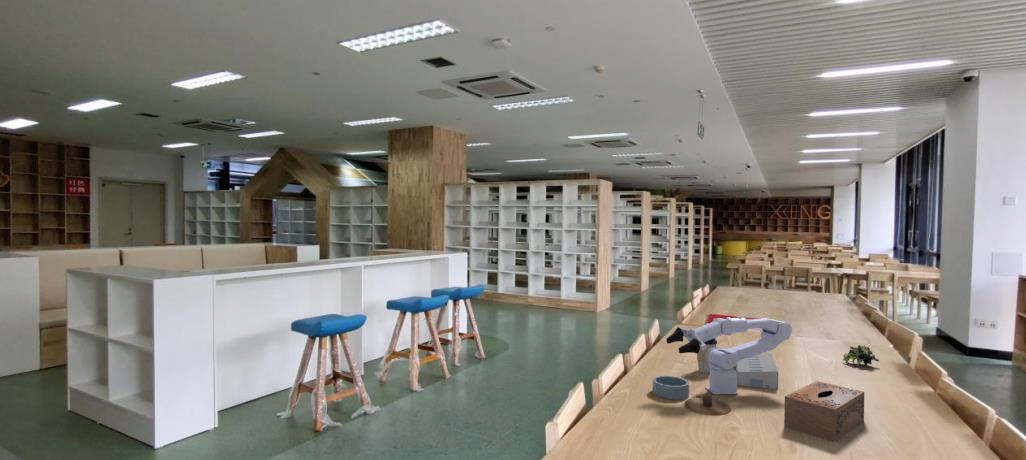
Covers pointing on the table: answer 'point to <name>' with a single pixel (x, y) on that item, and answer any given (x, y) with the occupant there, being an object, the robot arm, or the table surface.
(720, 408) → the lid
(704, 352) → the coffee cup
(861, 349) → the green leafy clump
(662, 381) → the bowl
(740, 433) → the table surface
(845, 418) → the tissue box cover
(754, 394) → the table surface
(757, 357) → the warehouse
